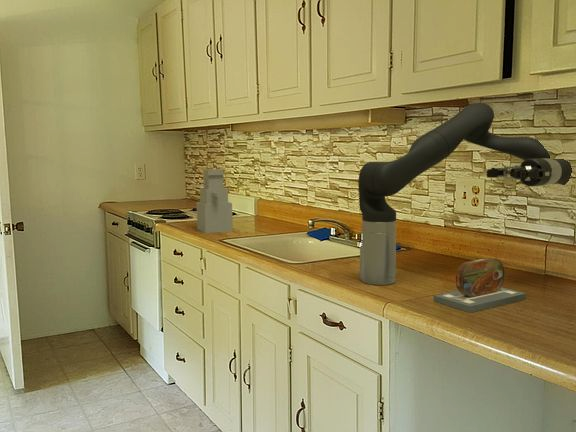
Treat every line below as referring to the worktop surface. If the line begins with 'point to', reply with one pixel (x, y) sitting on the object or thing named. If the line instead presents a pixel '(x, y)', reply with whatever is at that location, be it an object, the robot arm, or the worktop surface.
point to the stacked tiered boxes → (214, 204)
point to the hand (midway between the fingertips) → (501, 174)
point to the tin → (480, 277)
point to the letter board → (479, 299)
